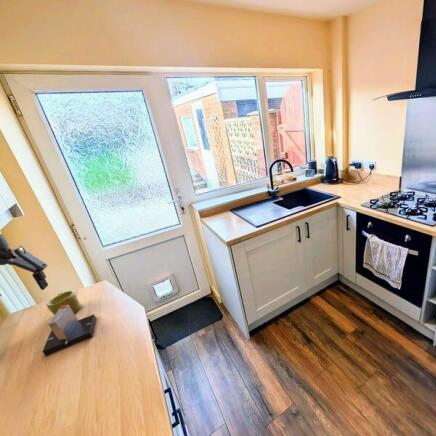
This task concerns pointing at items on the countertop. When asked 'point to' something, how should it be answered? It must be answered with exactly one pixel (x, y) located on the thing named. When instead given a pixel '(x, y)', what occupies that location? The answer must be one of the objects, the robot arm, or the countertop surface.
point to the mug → (64, 302)
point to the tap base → (71, 336)
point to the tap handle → (63, 323)
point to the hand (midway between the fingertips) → (21, 292)
